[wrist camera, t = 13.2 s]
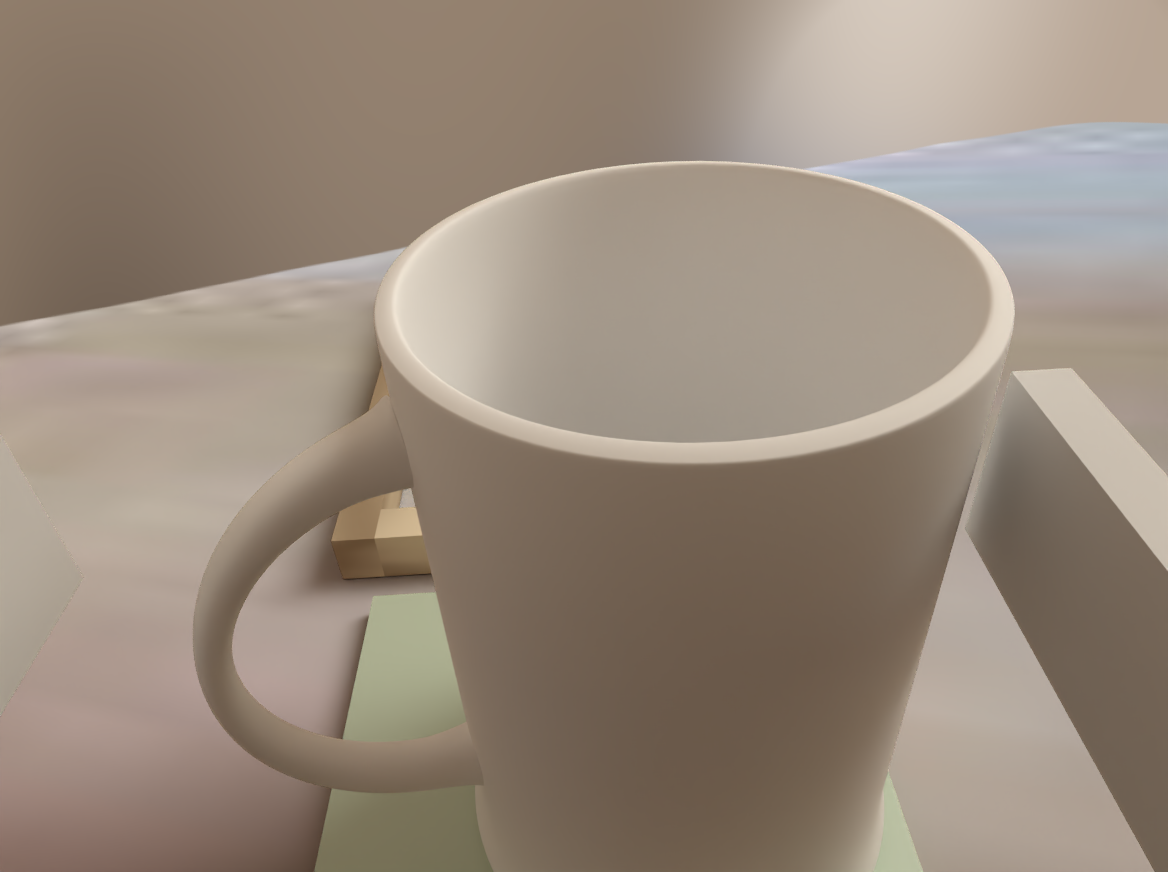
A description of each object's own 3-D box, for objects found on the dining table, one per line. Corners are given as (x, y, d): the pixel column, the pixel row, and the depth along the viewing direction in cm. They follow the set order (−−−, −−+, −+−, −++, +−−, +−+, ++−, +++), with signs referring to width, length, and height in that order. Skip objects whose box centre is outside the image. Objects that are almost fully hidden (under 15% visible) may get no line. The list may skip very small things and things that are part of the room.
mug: (321, 1127, 14) (-55, 657, 7) (317, 698, 21) (128, 228, 13) (970, 918, 16) (1230, 377, 9) (774, 587, 22) (828, 125, 15)
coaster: (815, 583, 23) (817, 567, 23) (1000, 1132, 14) (1009, 1120, 13) (377, 611, 23) (373, 596, 23) (260, 1176, 14) (250, 1166, 14)
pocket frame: (737, 272, 38) (739, 241, 37) (845, 547, 24) (852, 507, 24) (416, 293, 38) (410, 262, 37) (343, 579, 25) (330, 541, 24)
